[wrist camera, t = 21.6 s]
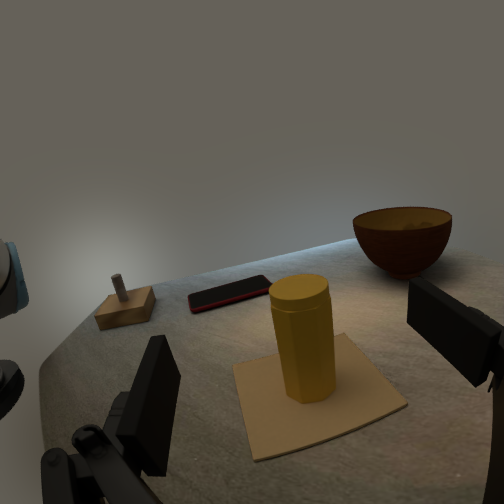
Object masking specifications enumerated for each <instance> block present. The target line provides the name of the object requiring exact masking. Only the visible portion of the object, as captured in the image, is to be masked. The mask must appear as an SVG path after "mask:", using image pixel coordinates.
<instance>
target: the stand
mask: <svg viewBox="0 0 504 504" xmlns="http://www.w3.org/2000/svg"><path fill="white" fill-rule="evenodd" d="M111 279H112V282H113V285H114V288H115V291H116V294H113V295H108V297H107V298H106V300H105V301H104V302H103V304H102V305H101V307H100V308H99V310H98V311H97V312H96V314H95V315H94V317H95V319H96V322H97V324H98V326H99V329H100V330H103V329H109V328H114V327H120V326H125V325H130V324H135V323H140V322H145V321H149V318H150V315H151V312H152V309H153V306H154V303H155V300H156V298H155V295H154V292H153V289H152V286H148V287H144V288H139V289H135V290H130V291H126V289H125V286H124V283H123V280H122V277H121V274H116V275H113V276H112V277H111Z"/></svg>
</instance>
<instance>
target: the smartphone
mask: <svg viewBox="0 0 504 504" xmlns="http://www.w3.org/2000/svg"><path fill="white" fill-rule="evenodd" d="M271 285H272V283H271V282H270V281H269V280H268V279H267V278H266V277H265V276H263V275H257V276H254V277H250V278H247V279H243V280H240V281H236V282H232V283H229V284H225V285H222V286H218V287H214V288H211V289H207V290H203V291H200V292H196V293H192V294H190V295H188V302H189V307H190V310H191V311H192V312H199V311H202V310H206V309H210V308H213V307H217V306H220V305H224V304H227V303H231V302H234V301H238V300H241V299H245V298H248V297H252V296H255V295H258V294H263V293H266V292H269V288H270V286H271Z"/></svg>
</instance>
